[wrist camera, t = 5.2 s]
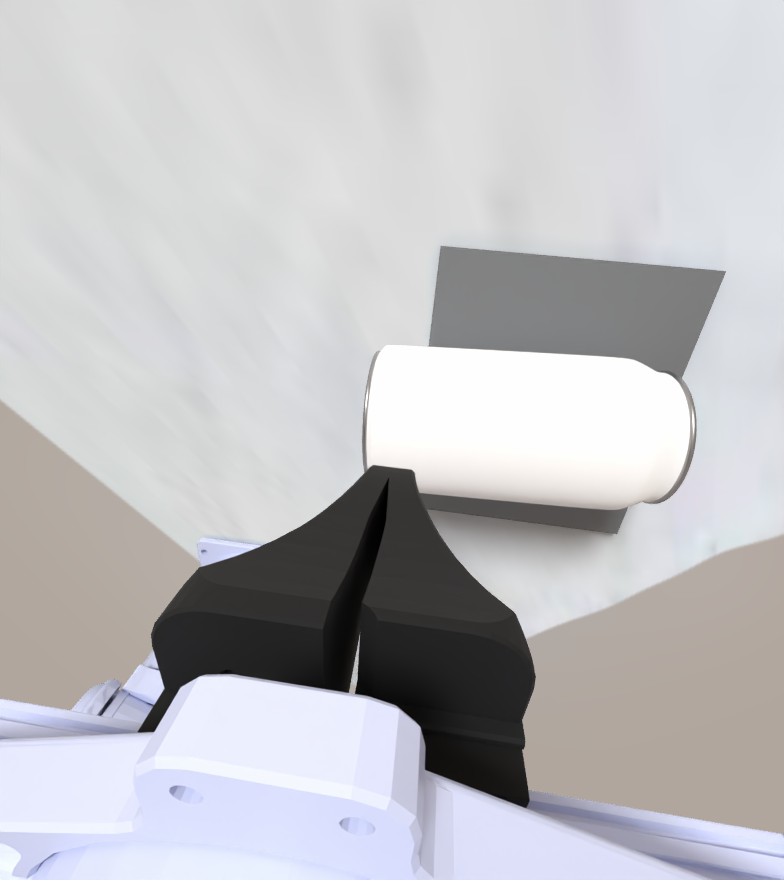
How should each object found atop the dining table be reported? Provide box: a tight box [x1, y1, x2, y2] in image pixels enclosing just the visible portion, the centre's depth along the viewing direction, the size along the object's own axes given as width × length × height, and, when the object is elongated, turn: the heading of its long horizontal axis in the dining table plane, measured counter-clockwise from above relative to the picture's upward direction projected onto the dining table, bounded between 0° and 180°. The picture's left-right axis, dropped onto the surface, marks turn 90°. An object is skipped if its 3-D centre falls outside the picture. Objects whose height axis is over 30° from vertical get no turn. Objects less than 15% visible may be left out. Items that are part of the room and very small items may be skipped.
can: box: [362, 345, 696, 510], centre depth 18 cm, size 6×6×12 cm
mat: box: [420, 246, 726, 534], centre depth 21 cm, size 14×12×1 cm
